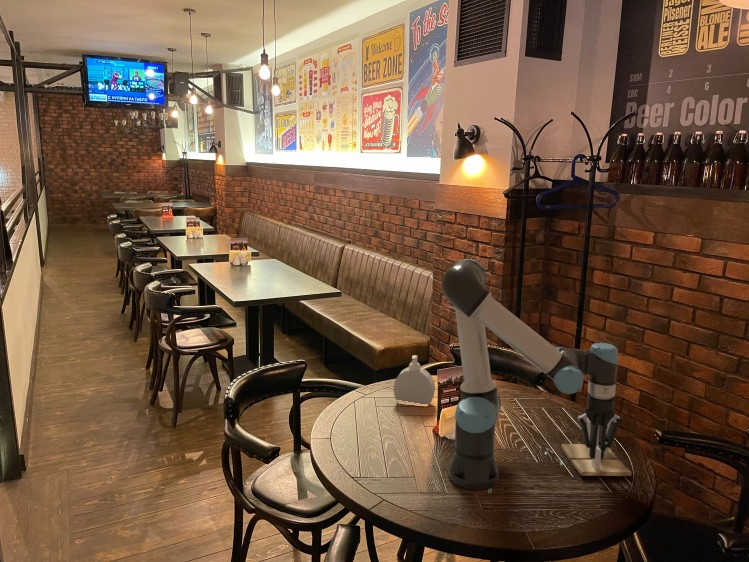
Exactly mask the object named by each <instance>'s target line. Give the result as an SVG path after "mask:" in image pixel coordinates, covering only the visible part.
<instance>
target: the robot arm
mask: <svg viewBox="0 0 749 562" xmlns="http://www.w3.org/2000/svg"><path fill="white" fill-rule="evenodd" d="M440 281H441V283H440V287H441V292H442V294H443V297H445V298H446V300H447V301H448V302H449V303H448V304H449V306H450V307H451V308H452V309H454V311H455V318H456V325H457V327H456V328H457V335H458V336H457V337H458V343H459V349H460V350H459V351H460V352H459V353H460V357H461V358H460V360H461V366H462V368H461V369H462V375H463V376H462V377H463V381H462V383H461V385H459V389H460V390H459V391H460V398H461V400H460V401H459V402H458V404H457V406H456V407H455V412H454V417H455V431H454V436H455V437H454V452H453V455H452V457H451V460H450V463H449V465H448V469H447V470H448V471H447V473H448V474H449V476H448V478H449V477H450V478H451V479H452V481H453V482H455V483H456V484H458V485H460V486H462V487H461V488H463V487H466V488H469V489H468V490H471V489H473V491H474V490H475V491H480V490H481V491H482V490H488V489H491V488H493V487H494V486H496V485H498V483H499V476H500V472H499V468H498V465H497V461H496V457H495V454H494V453H495V451H494V449H495V435H496V428H497V422H498V419H499V414H500V412H501V408H502V401H501V396H500V394H499V392H498V383H497V382H496V381H495V380H493V379H492V376H491V366H490V365H491V364H490V358H489V357H490V356H489V350H488V341H487V334H486V333H487V331H486V328H487V329H488V330H489V331H491V332H492V333H493V334H495V335H496V336H497V337H498V338H500V339H501V340H502V341H504V342H505V344H507V345H509V346H510V347H511V348H512V349H514V350H515V351H516V352H517V353H519V354H520V355H521V356H522V357H524V358H525V359H526V360H528V362H530V363H531V364H532V365H533V366H534V367H536V368H537V369H539V370H540V371H541V372H542V373H543V374H544V375H546V376H547V377H548V378H550V379H551V380H552V381H553V383H554V385H555V387H556V389H557V390H558V391H559V392H561V393H563V394H567V395H573V394H575V393H577V392H579V391H581V389H582V387H583V384H584V378H585V377H584V376H588V385H587V393H588V394H587V396H586V397H587V400H586V409H585V411H584V413H583V414H581V415H580V414H578V415H577V416H576V418H577V420H578V422H579V426H580V430H581V435H582V436H581V437H582V441H583V444H585V445H586V447H587V448H590V452H589V456H590V458H591V459H592V464H591V466H592V467H593V469H594V470H600V459H603V457H604V451H605V450H606V449H605V448H610V449H611V447H612V445H613V442H614V439H615V436H616V434H617V430H618V427H619V426H620V424H622V421H623V419H622V418H621V417H620V416H619V415H617V414H615V411H614V409H615V396H616V387H617V385H616V384H617V383H616V382H617V373H618V364H619V363H618V362H619V356H618V355H619V349H618V348H617V347H616V346H615V345H613V344H610V343H605V342H595V343H592V344H591V347H590V349H579V348H571V347H570V348H568V347H563V346H560V347H559V346H558V347H555V345H553V344H551V343H550V342H549V341H547V340H546V339H545V338H543V336H541V335H540V334H539V333H538V332H536V331H535V330H533V329H532V328H531V327H530V326H528V325H527V324H526V323H525V322H524V321H522V319H520V318H519V317H517V316H516V315H514V313H512V312H511V311H510V310H508V308H506V307H505V306H503V304H501V303H500V302H499V301H497V300H495V298H493V297H492V291H490V290H489V289H488V288H487V287H486V282H487V273H486V270H485V268H484V267H483V265H482V264H481V263H479V261H477V260H475V259H471V258H463V259H461V260H460V259H459V260H457V261H456V262H454V263H453V264H451V266H450V267H449V268H448V269H447V270H446V271H445V273H443V275H442V278H441V280H440ZM587 418H588V419H589V420H590V422H591V423H590V424H591V431H590V440H589V435H588V429H587ZM611 419H612V421H611V423H610V426H609V429H608V432H607V435H606V429H607V425H608V423H609V422H610V420H611ZM598 428H599V439H598V445H599V447H598V446H596V445H597V433H598ZM450 478H449V479H450ZM452 481H451V482H452ZM453 482H452V483H453ZM455 483H454V484H455ZM456 484H455V485H456ZM458 485H457V486H458ZM460 486H459V487H460ZM466 488H465V489H466Z"/></svg>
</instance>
